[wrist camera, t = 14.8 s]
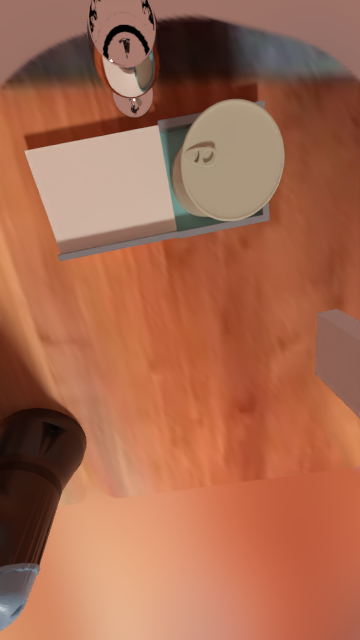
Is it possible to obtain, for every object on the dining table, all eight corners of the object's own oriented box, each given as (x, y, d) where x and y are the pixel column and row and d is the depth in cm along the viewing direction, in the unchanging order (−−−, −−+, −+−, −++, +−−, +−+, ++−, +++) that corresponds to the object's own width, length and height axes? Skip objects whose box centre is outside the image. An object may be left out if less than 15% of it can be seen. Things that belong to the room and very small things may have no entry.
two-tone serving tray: (67, 259, 35) (60, 263, 33) (29, 150, 30) (17, 144, 28) (263, 219, 36) (272, 220, 33) (257, 106, 31) (268, 96, 28)
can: (175, 126, 31) (190, 82, 20) (250, 142, 32) (302, 108, 21) (165, 211, 34) (173, 213, 23) (233, 222, 36) (271, 229, 25)
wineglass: (143, 136, 31) (139, 96, 20) (97, 102, 29) (65, 39, 18) (168, 83, 29) (178, 9, 18) (120, 45, 28) (101, -61, 17)
